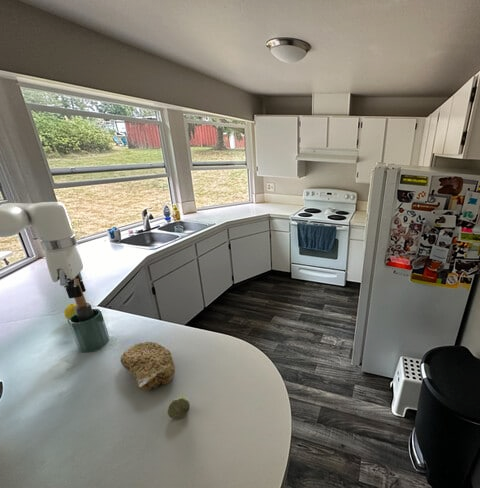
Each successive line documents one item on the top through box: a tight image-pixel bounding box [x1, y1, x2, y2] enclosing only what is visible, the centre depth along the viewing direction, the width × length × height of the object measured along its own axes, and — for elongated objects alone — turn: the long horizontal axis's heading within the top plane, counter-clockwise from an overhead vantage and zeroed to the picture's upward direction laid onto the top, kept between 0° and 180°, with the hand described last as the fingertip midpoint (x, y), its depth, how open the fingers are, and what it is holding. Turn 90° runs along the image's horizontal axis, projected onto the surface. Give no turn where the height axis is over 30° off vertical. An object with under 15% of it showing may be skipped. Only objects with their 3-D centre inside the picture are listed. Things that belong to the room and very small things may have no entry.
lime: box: [167, 396, 191, 421], centre depth 66 cm, size 4×5×5 cm
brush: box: [68, 278, 95, 322], centre depth 84 cm, size 4×4×16 cm
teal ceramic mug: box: [67, 308, 111, 353], centre depth 88 cm, size 8×8×12 cm
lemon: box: [63, 303, 77, 320], centre depth 100 cm, size 6×6×8 cm
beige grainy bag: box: [120, 341, 176, 392], centre depth 79 cm, size 13×8×20 cm
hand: (77, 294), depth 83 cm, fingers closed on brush, 2 cm apart
